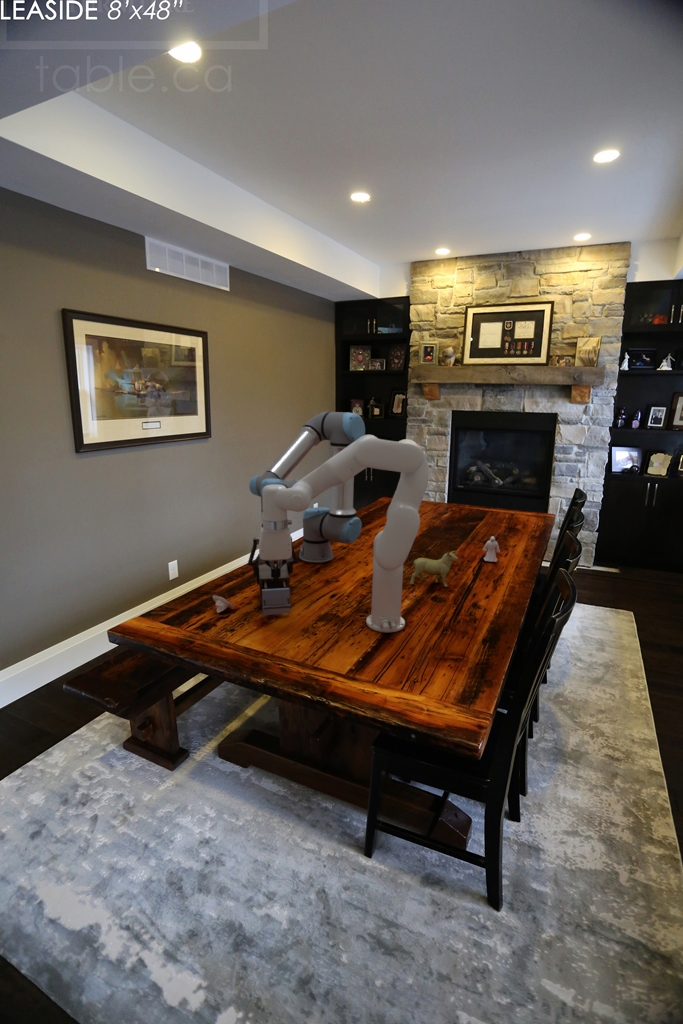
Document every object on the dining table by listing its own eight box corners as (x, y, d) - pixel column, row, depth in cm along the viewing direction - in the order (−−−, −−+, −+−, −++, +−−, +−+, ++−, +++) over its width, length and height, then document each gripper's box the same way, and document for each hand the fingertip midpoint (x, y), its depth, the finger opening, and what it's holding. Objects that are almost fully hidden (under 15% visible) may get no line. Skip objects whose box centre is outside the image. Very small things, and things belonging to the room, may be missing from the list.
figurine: (481, 562, 222) (483, 536, 219) (482, 556, 230) (484, 531, 227) (499, 564, 220) (501, 538, 217) (499, 558, 228) (501, 533, 225)
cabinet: (289, 605, 175) (289, 577, 172) (260, 607, 173) (259, 578, 170) (286, 590, 188) (286, 563, 185) (259, 592, 186) (258, 565, 183)
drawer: (291, 621, 161) (291, 596, 159) (263, 623, 159) (262, 598, 157) (286, 598, 179) (286, 575, 177) (261, 599, 177) (261, 576, 175)
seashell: (218, 620, 170) (203, 603, 170) (229, 610, 174) (214, 593, 173) (227, 616, 164) (211, 598, 164) (238, 606, 168) (222, 587, 167)
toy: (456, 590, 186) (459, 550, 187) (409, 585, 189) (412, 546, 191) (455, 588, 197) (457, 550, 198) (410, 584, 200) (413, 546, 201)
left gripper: (303, 519, 181) (303, 576, 186) (239, 521, 177) (241, 580, 182) (305, 524, 174) (305, 584, 179) (239, 527, 170) (241, 588, 175)
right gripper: (297, 520, 161) (297, 573, 166) (250, 521, 158) (252, 576, 163) (300, 526, 154) (300, 582, 158) (250, 528, 151) (252, 585, 156)
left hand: (273, 582), depth 181 cm, fingers closed on cabinet, 10 cm apart
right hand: (275, 579), depth 161 cm, fingers closed
